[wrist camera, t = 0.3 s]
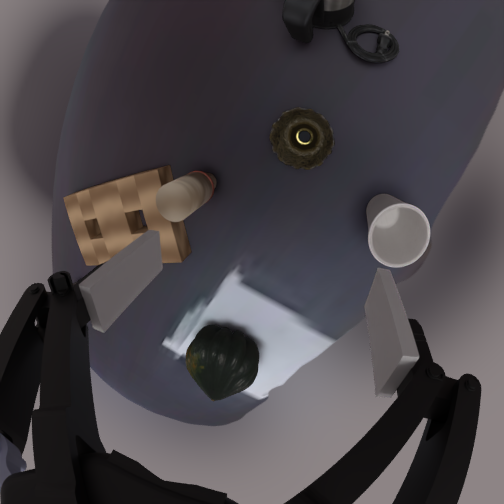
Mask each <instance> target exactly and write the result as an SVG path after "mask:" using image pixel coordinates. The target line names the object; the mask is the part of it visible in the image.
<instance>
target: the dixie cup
mask: <svg viewBox="0 0 504 504" xmlns="http://www.w3.org/2000/svg"><path fill="white" fill-rule="evenodd" d="M366 215H367V222H368V230H369V233H368V243H369V248H370V250H371V252H372V254H373V256H374V257H375V258H376V259H377V260H378V261H379V262H380V263H382V264H384V265H386V266H390V267H403V266H407V265H409V264H411V263H413V262H415V261H416V260H417V259H418V258H419V257H420V256H421V255H422V254H423V253H424V251H425V250H426V248H427V246H428V243H429V239H430V226H429V222H428V220H427V218H426V216H425V214H424V213H423V212H422V211H421V210H420V209H419V208H417V207H415V206H413V205H411V204H406V203H404V202H403V201H401V200H399V199H397V198H395V197H393V196H391V195H389V194H379V195H376V196H375V197H373V198H372V199H371V200H370V202H369V203H368V205H367V209H366Z"/></svg>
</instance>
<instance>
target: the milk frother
mask: <svg viewBox="0 0 504 504" xmlns="http://www.w3.org/2000/svg"><path fill="white" fill-rule="evenodd" d="M354 2H355V0H285V3H284V7H283V14H282V17H283V21H284V23H285V25H286V27H287V29H288V31H289V33H290V35H291V36H292V37H293V38H294V39H296V40H299V41H302V42H305V43H309V42H311V40H312V38H313V27H312V26H314V27H317V28H323V29H331V28H338V29H339V31H340V33H341V35H342V37H343V38H344V40H345V42H346V43H347V45H348V46H349V48H350V49H351V51H352V52H353V53H354V54H356V55H357V56H358V57H360V58H362V59H364V60H366V61H370V62H374V63H381V62H387V61H390V60H392V59H394V58H395V57H396V56H397V54H398V52H399V44H398V42H397V40H396V39H395V38H394V36H393V35H392V34H390V32H389V31H388V30H387V31H386V30H385V29H382V28H381V27H378V26H375V25H370V24H367V25H359V26H356V27H354V28H353V29H352V30H351V31H350V32H349V34H348V36H347V35H346V33H345V31H344V29H343V27H342V26H343V25H345V24H346V23H348V22H349V21H350V20H351V18H352V17H353V14H354ZM363 32H376V33H380V34H379V37H378V40H377V42H378V44H379V45H378V47H377V52H376V53H370V52H367V51H365V50H364V49H362V48H361V47H360V46H359V45H358V43H357V41H356V37H357V36H358V35H359V34H361V33H363ZM390 45H391V48H390V50H389V51H387V49H388V48H387V47H390Z"/></svg>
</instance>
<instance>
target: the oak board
mask: <svg viewBox="0 0 504 504" xmlns="http://www.w3.org/2000/svg"><path fill="white" fill-rule="evenodd" d="M171 181H173V176H172V172H171V167H170V165H168V166H164V167H160V168H156V169H152V170H148V171H144V172H140V173H136V174H133V175H129V176H126V177H122V178H119V179H115V180H112V181H109V182H105V183H102V184H99V185H96V186H93V187H90V188H87V189H84V190H81V191H78V192H75V193H73V194H71V195H68V196H66V197H64V202H65V205H66V209H67V212H68V215H69V218H70V221H71V225H72V228H73V231H74V233H75V236H76V239H77V242H78V245H79V247H80V250H81V253H82V255H83V258H84V260H85V263H86V265H100V264H102V263H104V262H107V261H108V260H110V259H111V258H112V257H113V256H115V255H116V254H117V253H119V252H120V251H121V250H122V249H124V248H125V247H126V246H128V245H129V244H130V243H132V242H133V241H134V240H136V239H137V238H138V237H140V236H141V235H142V234H144V233H145V232H147V231H148V230H155V231H159V234H160V246H161V257H162V263H175V262H183V261H184V259H185V258H186V257H187V256H188V255H189V254H190V253H191V248H190V245H189V241H188V237H187V233H186V230H185V226H184V222H183V220H182V221H179V222H172V221H169V220H167V219H165V218H164V217H163V216H162V215H161V214H160V212H159V211H158V209H157V206H156V194H157V192H158V190H159V189H160V188H161V187H162V186H163V185H165V184H167V183H169V182H171ZM139 210H143V213H144V217H145V220H146V224H147V226H143V224H142V221H141V217H140V214H139Z"/></svg>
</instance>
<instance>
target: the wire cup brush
mask: <svg viewBox="0 0 504 504" xmlns="http://www.w3.org/2000/svg"><path fill="white" fill-rule="evenodd" d="M302 131H307V132H308V133H309V134H310V140H309V141H307V142H303V141H301V140H300V139H299V134H300V132H302ZM270 142H271V144H272V146H273V148H272V150H273V152H275V153H277V157H278V159H279V160H280V161H281V162H283V163H284V164H285V165H289V166H293V167H294V168H295V169H299V168H301V169H305V170H310V169H313V168H315V167H316V166H320V165H322V164H323V161H324V160H325V159H326V158H327V157H328V155H329V154H331V152H332V148H333V147H334V144H335V141H334V137H333V130H332V128H331V127H330V125H329V123H328V121H327V120H326V119H325V118H324V117H323V116H322V115H321V114H320V113H316V112H314V111H313V110H312V109H304V108H299V107H297V108H293V109H291V110H289V111H285V112H283V113H282V116H281V117H280V118H279V119H278V120H277V122H275V123H273V125H272V131H271V133H270Z"/></svg>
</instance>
